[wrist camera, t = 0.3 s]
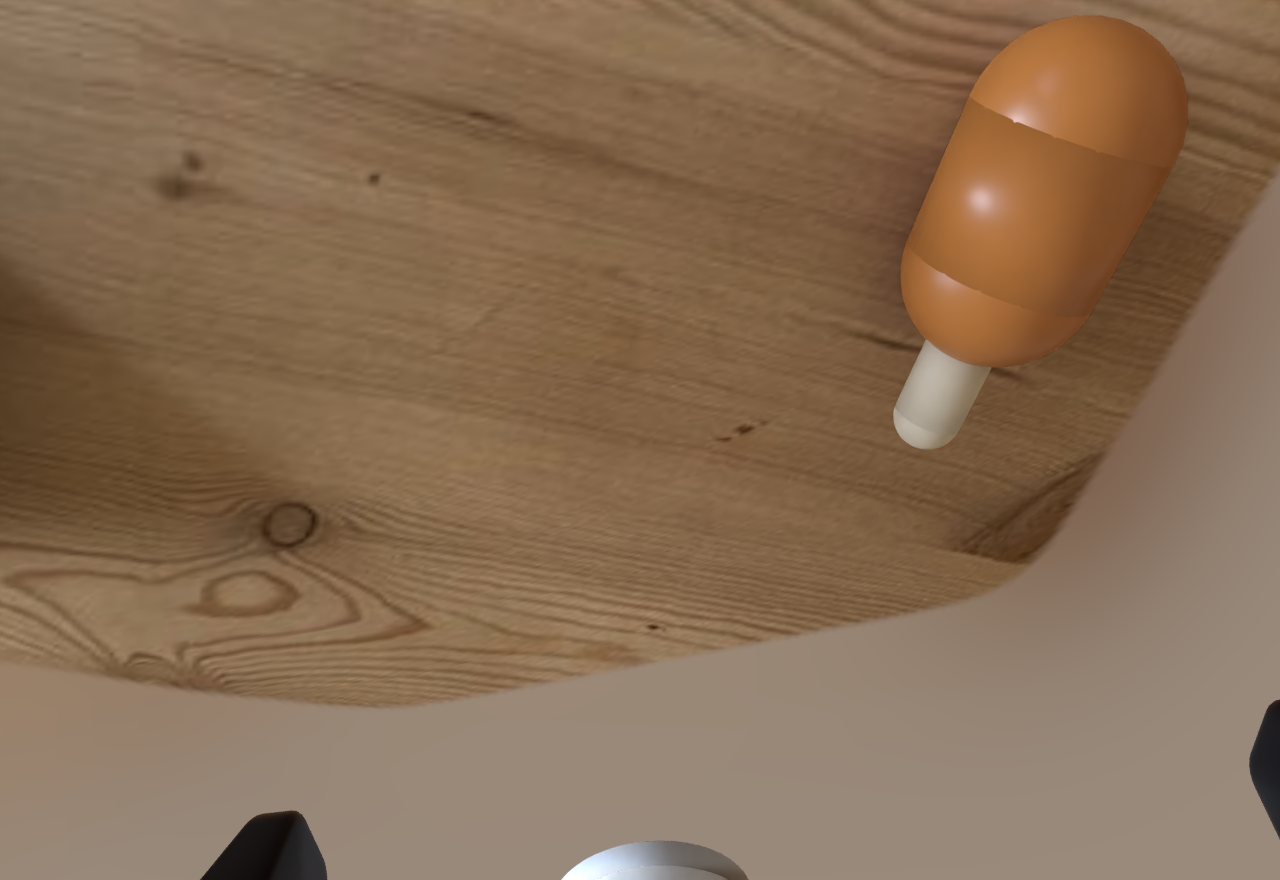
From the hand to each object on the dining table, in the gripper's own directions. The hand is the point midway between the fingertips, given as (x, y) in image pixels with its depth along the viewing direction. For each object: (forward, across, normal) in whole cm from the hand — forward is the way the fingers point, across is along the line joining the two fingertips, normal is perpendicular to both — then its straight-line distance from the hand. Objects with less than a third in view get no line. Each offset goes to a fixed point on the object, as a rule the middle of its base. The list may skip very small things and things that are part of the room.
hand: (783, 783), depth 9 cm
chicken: (+16, -7, +1) cm, 17 cm away
